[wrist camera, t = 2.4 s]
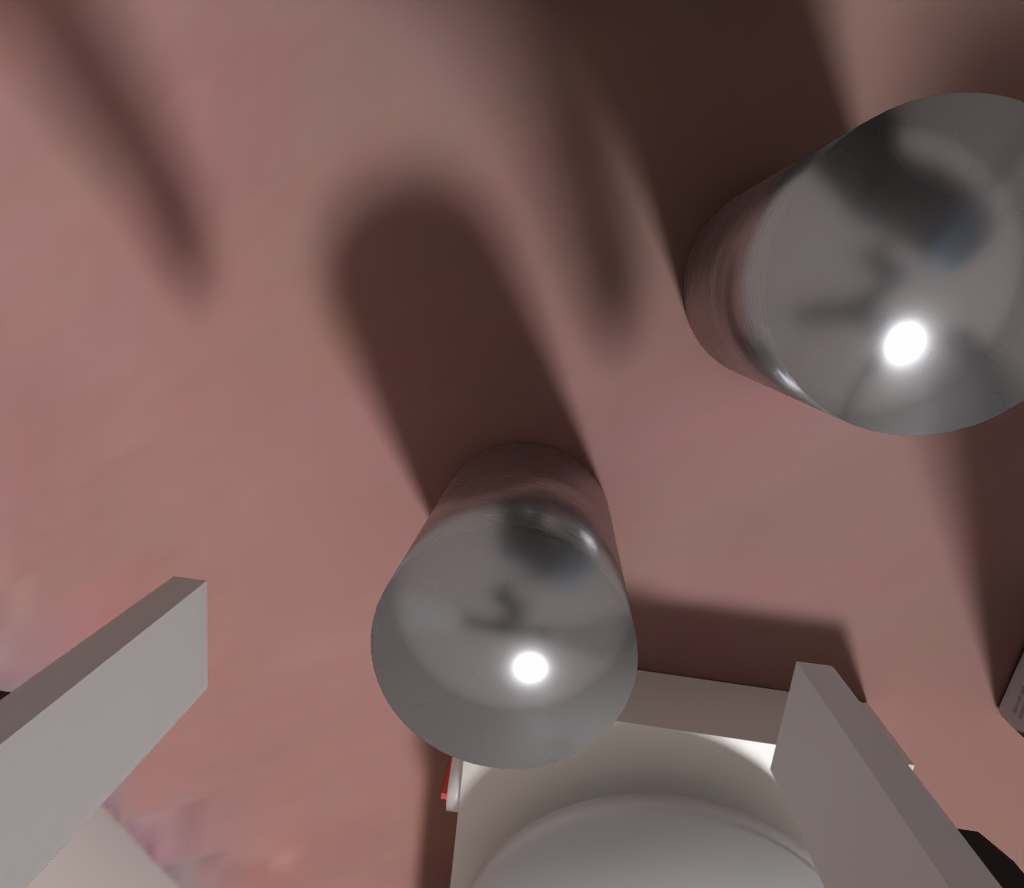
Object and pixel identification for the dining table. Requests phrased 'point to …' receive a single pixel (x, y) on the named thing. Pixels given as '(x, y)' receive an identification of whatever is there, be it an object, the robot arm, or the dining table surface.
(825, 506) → the dining table surface
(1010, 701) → the coffee box
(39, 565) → the dining table surface
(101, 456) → the dining table surface
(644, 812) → the scale
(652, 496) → the dining table surface
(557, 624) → the cylinder
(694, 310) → the cylinder
